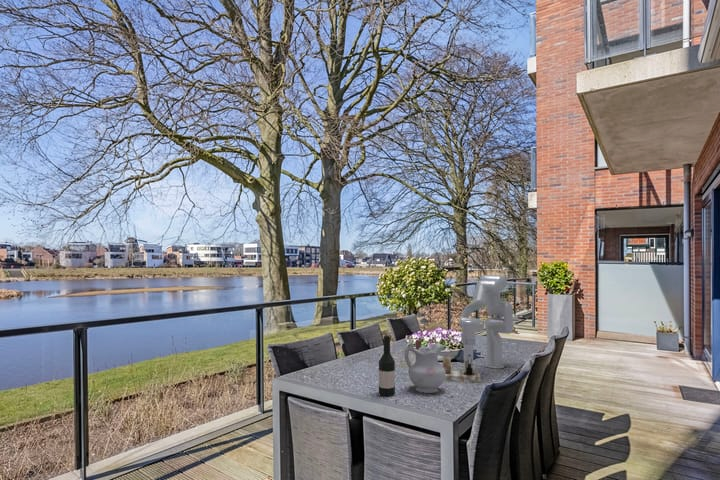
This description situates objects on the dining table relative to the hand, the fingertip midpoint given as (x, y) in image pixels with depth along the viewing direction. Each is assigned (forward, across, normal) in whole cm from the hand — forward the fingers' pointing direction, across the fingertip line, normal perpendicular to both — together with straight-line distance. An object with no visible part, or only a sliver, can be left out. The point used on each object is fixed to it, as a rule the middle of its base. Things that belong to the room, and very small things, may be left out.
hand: (468, 372), depth 248 cm
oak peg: (+3, 0, 0) cm, 3 cm away
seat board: (+4, 0, -6) cm, 7 cm away
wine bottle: (+4, +37, -44) cm, 57 cm away
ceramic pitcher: (+4, +26, -25) cm, 36 cm away
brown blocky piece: (+4, -16, -28) cm, 32 cm away
